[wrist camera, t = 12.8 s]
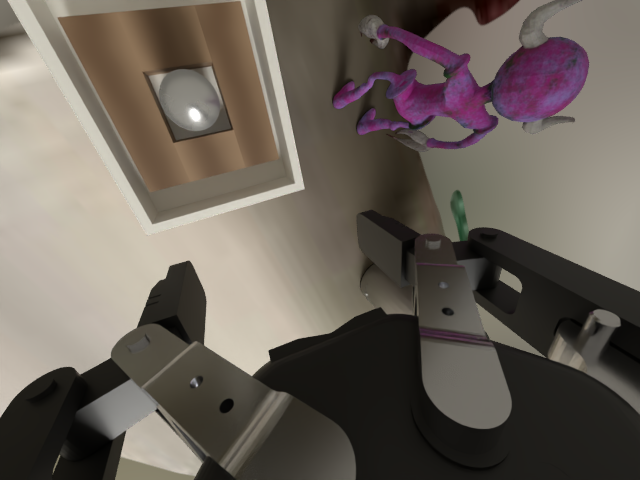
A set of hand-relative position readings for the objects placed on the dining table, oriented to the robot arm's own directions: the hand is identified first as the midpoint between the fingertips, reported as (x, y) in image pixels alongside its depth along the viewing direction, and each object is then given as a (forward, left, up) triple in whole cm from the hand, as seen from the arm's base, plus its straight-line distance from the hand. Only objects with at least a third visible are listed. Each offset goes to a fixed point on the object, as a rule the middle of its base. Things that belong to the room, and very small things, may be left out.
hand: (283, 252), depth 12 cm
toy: (-19, -4, -24) cm, 31 cm away
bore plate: (+2, -7, -23) cm, 24 cm away
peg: (+2, -7, -23) cm, 24 cm away
